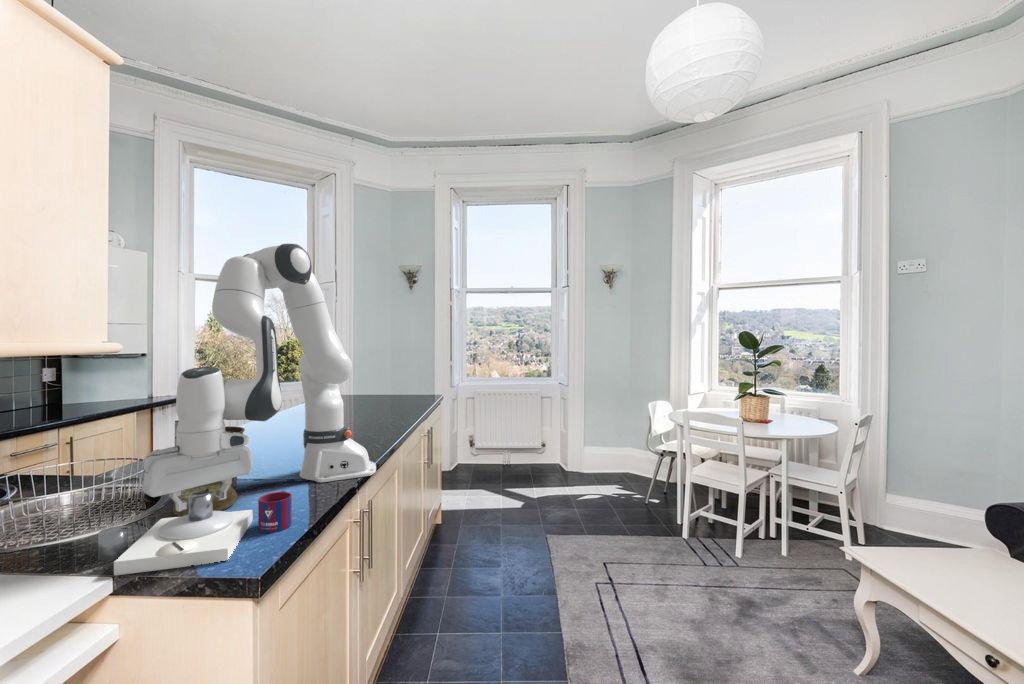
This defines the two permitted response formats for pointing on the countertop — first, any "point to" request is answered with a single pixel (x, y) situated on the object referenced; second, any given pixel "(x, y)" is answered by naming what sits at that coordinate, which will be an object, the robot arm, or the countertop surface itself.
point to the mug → (275, 512)
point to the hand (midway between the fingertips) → (201, 504)
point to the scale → (185, 542)
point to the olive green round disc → (217, 504)
